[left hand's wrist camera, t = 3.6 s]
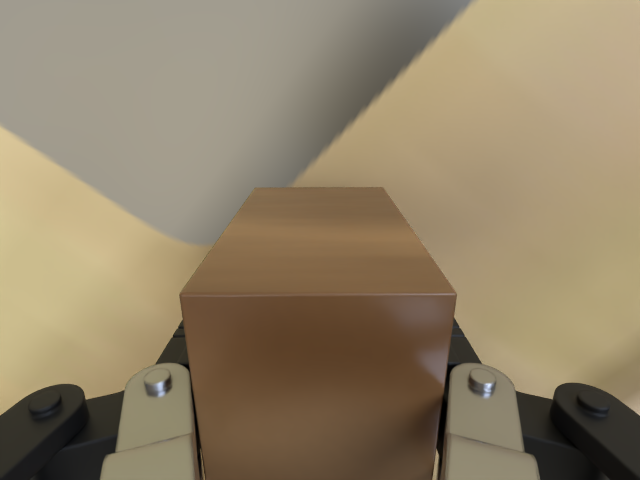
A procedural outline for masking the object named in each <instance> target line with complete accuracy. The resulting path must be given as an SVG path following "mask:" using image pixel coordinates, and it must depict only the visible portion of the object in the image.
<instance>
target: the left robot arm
mask: <svg viewBox="0 0 640 480" xmlns="http://www.w3.org/2000/svg"><path fill="white" fill-rule="evenodd" d="M436 448H437V451H438V454H439V458H438V467H437V478H436V480H640V416H639V415H638V414H637V413H635V412H634V411H633V410H631V409H630V408H629V407H627V406H626V405H625V404H623V403H622V402H621V401H619V400H618V399H617V398H615V397H614V396H612V395H611V394H609V393H607V392H605V391H603V390H601V389H598V388H596V387H593V386H590V385H586V384H581V383H565V384H562V385H560V386H558V387H557V388H556V390H555V392H554V396H553V400H552V399H548V398H543V397H539V396H534V395H530V394H525V393H521V392H518V391H515V387H514V385H513V383H512V381H511V380H510V379H509V378H508V377H507V376H506V375H505V374H503V373H502V372H500V371H499V370H497V369H495V368H493V367H490V366H487V365H484V364H482V363H481V361H480V360H479V358H478V356H477V355H476V353H475V352H474V350H473V348H472V347H471V345H470V343H469V342H468V340H467V338H466V337H465V336H464V333H463V332H462V330H461V328H459V325H458V323H457V322H456V320H455V318H454V319H453V327H452V334H451V342H450V349H449V357H448V364H447V372H446V379H445V387H444V394H443V402H442V409H441V417H440V424H439V432H438V439H437V447H436ZM200 449H201V445H200V438H199V431H198V424H197V417H196V410H195V402H194V395H193V388H192V381H191V374H190V367H189V360H188V353H187V345H186V338H185V331H184V324H183V320H182V322H181V323H180V325H179V326H178V329H177V330H176V331H175V333H174V335H173V338H171V340H170V341H169V343H168V344H167V346H166V348H165V349H164V351H163V353H162V354H161V356H160V357H159V359H158V361H157V362H156V364H155V365H153V366H150V367H147V368H145V369H143V370H141V371H140V372H138V373H137V374H135V375H134V376H133V377H132V378H131V379H130V380H129V381H128V383H127V385H126V387H125V390H124V391H121V392H118V393H114V394H110V395H106V396H101V397H97V398H92V399H88V400H86V399H85V395H84V392H83V390H82V389H81V388H80V387H79V386H77V385H73V384H59V385H53V386H49V387H46V388H43V389H41V390H38V391H36V392H34V393H32V394H30V395H28V396H26V397H25V398H23V399H22V400H21V401H19V402H18V403H17V404H15V405H14V406H13V407H11V408H10V409H9V410H7V411H6V412H5V413H3V414H2V415H1V416H0V480H204V478H203V467H202V458H201V451H200Z"/></svg>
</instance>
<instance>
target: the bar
mask: <svg viewBox="0 0 640 480" xmlns="http://www.w3.org/2000/svg"><path fill="white" fill-rule="evenodd" d="M456 297H457V294H456V292H455V290H454V289H453V287H452V286H451V284H450V283H449V282H448V280H447V279H446V277H445V276H444V274H443V273H442V271H441V270H440V269H439V267H438V266H437V264H436V263H435V261H434V260H433V259H432V257H431V256H430V254H429V253H428V251H427V250H426V248H425V247H424V246H423V244H422V243H421V241H420V240H419V238H418V237H417V236H416V234H415V233H414V231H413V230H412V228H411V227H410V225H409V224H408V223H407V221H406V220H405V218H404V217H403V215H402V214H401V212H400V211H399V210H398V208H397V207H396V205H395V204H394V202H393V201H392V200H391V198H390V197H389V195H388V194H387V192H386V191H385V189H384V188H382V187H381V188H254V190H253V191H252V193H251V194H250V195H249V197H248V198H247V200H246V201H245V202H244V204H243V205H242V207H241V208H240V209H239V211H238V212H237V214H236V215H235V217H234V218H233V219H232V221H231V222H230V224H229V225H228V226H227V228H226V229H225V231H224V232H223V233H222V235H221V236H220V238H219V239H218V240H217V242H216V243H215V245H214V246H213V247H212V249H211V250H210V252H209V253H208V254H207V256H206V257H205V259H204V260H203V261H202V263H201V264H200V266H199V267H198V268H197V270H196V271H195V273H194V274H193V275H192V277H191V278H190V280H189V281H188V283H187V284H186V285H185V287H184V288H183V290H182V291H181V292H180V303H181V310H182V317H183V324H184V331H185V338H186V345H187V353H188V360H189V367H190V374H191V381H192V388H193V395H194V402H195V410H196V417H197V424H198V431H199V438H200V445H201V452H202V459H203V467H204V474H205V480H432V477H433V470H434V462H435V454H436V447H437V439H438V432H439V424H440V417H441V409H442V402H443V394H444V387H445V379H446V372H447V364H448V357H449V349H450V342H451V334H452V327H453V319H454V312H455V304H456Z"/></svg>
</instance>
